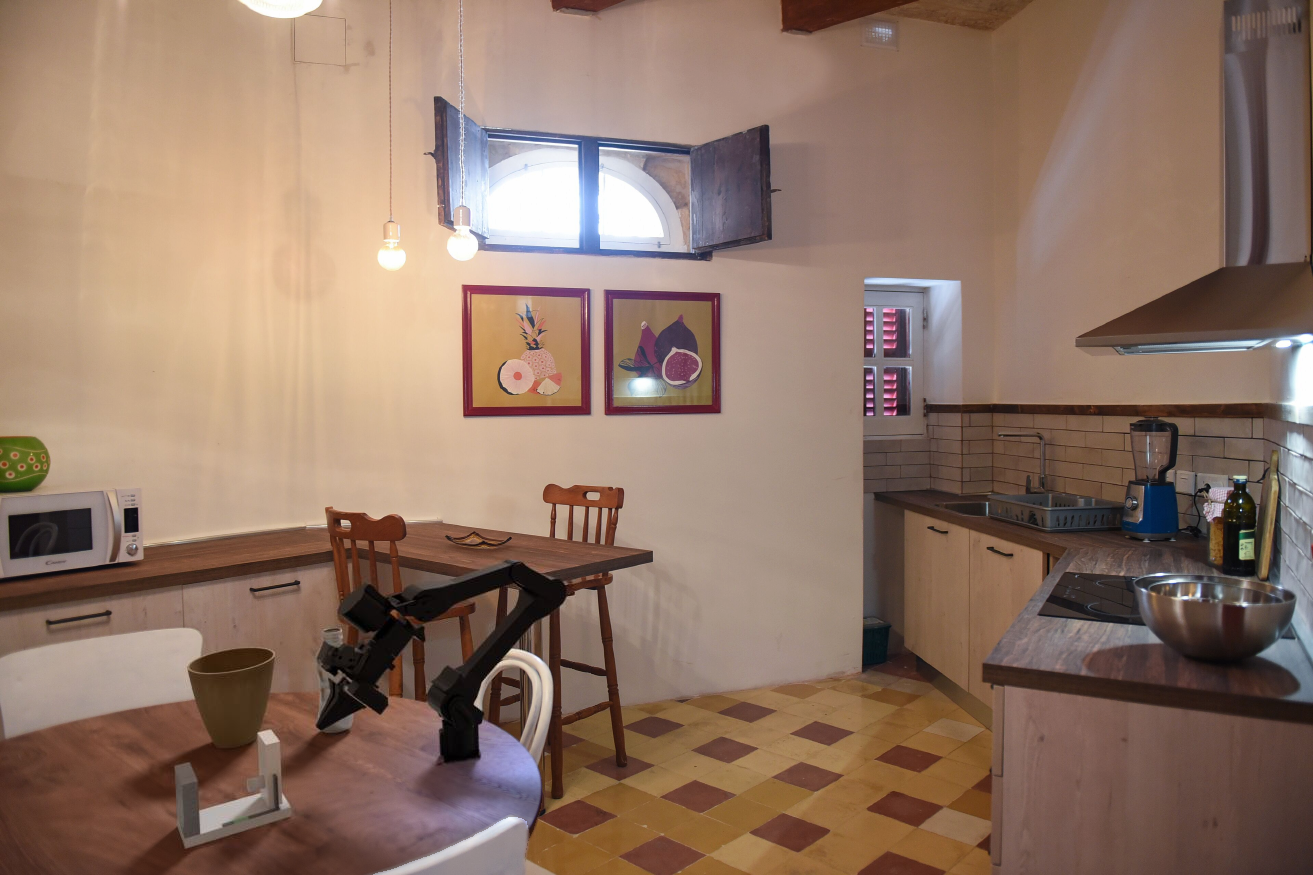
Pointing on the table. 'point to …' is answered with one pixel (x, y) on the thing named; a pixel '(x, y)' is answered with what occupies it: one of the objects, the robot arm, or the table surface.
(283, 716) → the table surface
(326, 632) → the plastic bottle
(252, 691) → the plant pot
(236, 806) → the base
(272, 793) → the cream upright slab
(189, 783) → the brushed steel plate
